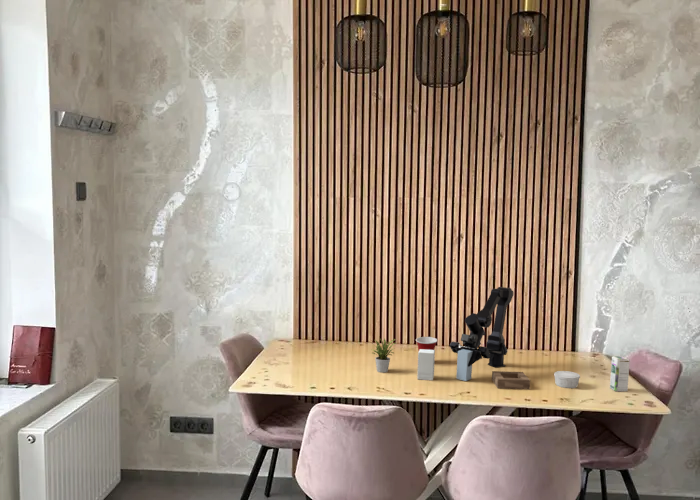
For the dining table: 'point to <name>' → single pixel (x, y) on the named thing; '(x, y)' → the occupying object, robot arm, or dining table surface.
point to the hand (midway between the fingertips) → (463, 365)
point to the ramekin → (566, 379)
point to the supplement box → (426, 364)
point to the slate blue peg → (464, 365)
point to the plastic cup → (426, 343)
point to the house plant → (383, 356)
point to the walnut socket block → (510, 380)
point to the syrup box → (619, 373)
